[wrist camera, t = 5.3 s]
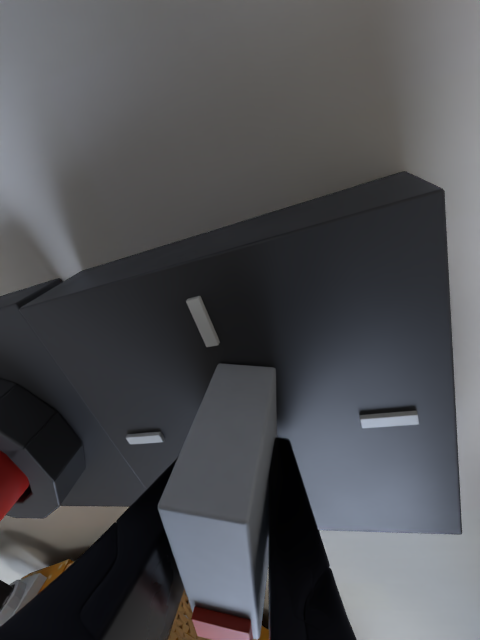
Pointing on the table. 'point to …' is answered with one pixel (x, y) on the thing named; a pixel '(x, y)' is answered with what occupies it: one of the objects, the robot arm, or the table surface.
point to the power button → (10, 484)
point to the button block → (52, 425)
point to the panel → (287, 347)
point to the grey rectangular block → (225, 503)
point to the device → (11, 598)
